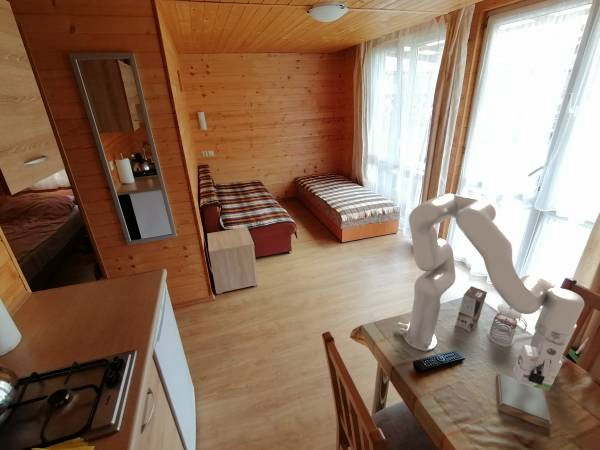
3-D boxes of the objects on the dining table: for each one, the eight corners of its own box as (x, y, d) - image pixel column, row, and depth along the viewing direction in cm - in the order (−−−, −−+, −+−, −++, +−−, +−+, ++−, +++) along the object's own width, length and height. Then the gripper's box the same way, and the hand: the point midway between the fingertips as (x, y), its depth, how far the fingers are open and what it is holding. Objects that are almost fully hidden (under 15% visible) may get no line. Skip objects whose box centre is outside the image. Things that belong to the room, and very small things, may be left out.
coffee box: (470, 332, 125) (480, 301, 118) (455, 324, 129) (463, 294, 122) (478, 321, 130) (488, 292, 124) (463, 314, 135) (471, 285, 128)
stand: (498, 409, 95) (500, 403, 94) (495, 377, 105) (498, 371, 104) (548, 429, 89) (552, 423, 88) (540, 393, 100) (543, 387, 98)
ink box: (544, 378, 94) (556, 350, 89) (549, 391, 89) (563, 363, 85) (512, 370, 96) (523, 343, 92) (516, 383, 92) (527, 355, 87)
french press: (488, 325, 129) (504, 276, 118) (520, 337, 122) (540, 287, 111) (484, 338, 122) (500, 288, 111) (517, 352, 115) (538, 301, 105)
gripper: (578, 356, 76) (554, 403, 83) (562, 315, 90) (542, 358, 97) (541, 345, 79) (521, 392, 87) (531, 307, 93) (515, 350, 100)
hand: (533, 373), depth 92 cm, fingers closed on ink box, 5 cm apart
